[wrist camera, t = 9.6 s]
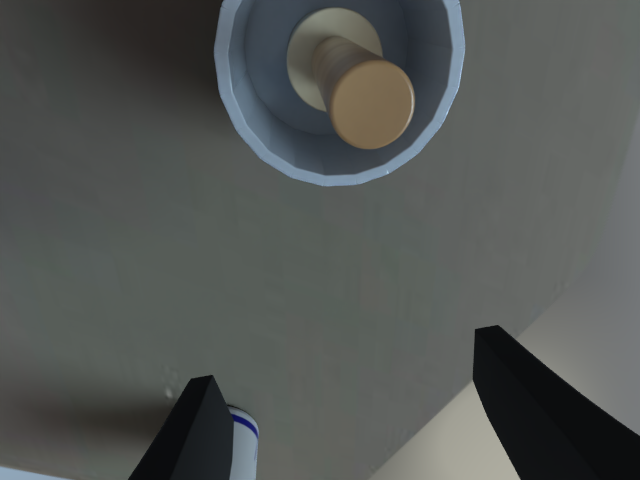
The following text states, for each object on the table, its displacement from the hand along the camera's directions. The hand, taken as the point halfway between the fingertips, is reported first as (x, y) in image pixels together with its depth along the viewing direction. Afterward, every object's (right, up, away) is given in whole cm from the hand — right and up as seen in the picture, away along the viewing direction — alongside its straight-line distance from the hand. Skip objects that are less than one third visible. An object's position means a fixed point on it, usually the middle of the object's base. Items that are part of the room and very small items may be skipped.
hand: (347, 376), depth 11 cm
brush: (0, +11, +5) cm, 13 cm away
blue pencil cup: (0, +11, +5) cm, 13 cm away
